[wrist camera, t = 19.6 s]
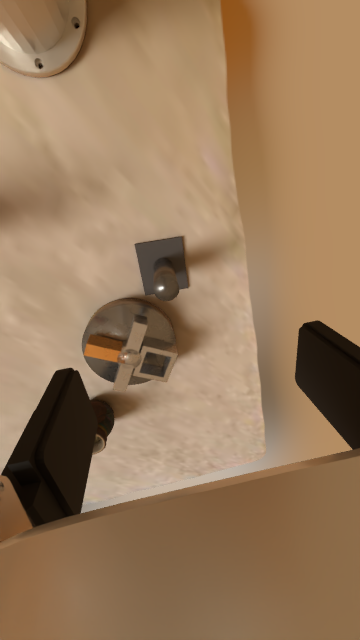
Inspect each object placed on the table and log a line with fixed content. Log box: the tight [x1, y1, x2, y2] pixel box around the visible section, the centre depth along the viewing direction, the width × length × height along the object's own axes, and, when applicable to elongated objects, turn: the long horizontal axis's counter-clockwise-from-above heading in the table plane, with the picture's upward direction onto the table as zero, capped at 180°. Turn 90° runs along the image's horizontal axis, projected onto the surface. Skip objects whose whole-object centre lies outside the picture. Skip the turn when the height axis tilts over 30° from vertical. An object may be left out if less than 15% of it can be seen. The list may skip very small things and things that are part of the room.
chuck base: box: [82, 298, 176, 385], centre depth 42 cm, size 15×15×3 cm
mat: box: [135, 237, 188, 295], centre depth 39 cm, size 8×7×1 cm
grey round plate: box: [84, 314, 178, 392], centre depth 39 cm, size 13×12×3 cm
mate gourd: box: [90, 400, 114, 455], centre depth 44 cm, size 7×8×10 cm
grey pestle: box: [153, 258, 179, 301], centre depth 34 cm, size 3×3×10 cm
